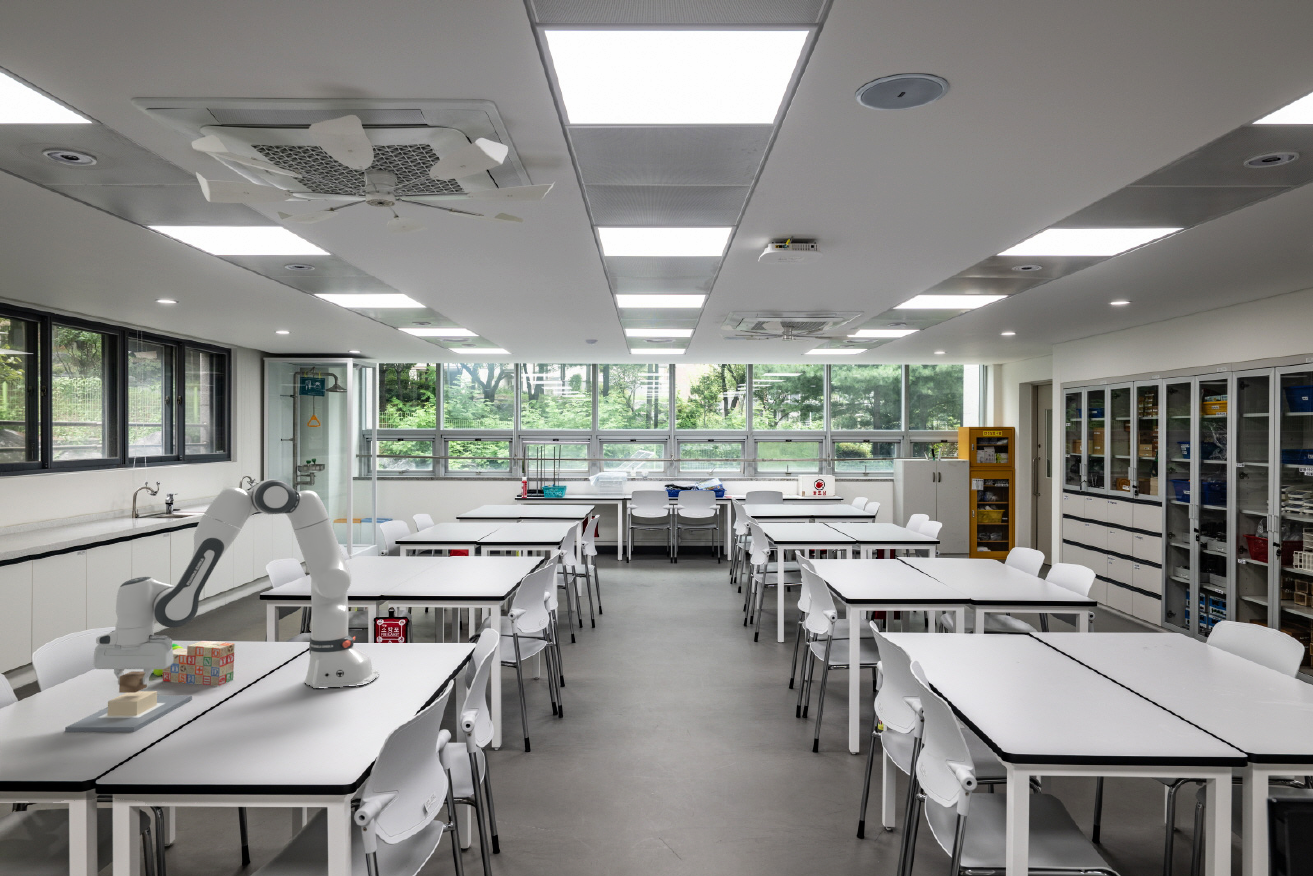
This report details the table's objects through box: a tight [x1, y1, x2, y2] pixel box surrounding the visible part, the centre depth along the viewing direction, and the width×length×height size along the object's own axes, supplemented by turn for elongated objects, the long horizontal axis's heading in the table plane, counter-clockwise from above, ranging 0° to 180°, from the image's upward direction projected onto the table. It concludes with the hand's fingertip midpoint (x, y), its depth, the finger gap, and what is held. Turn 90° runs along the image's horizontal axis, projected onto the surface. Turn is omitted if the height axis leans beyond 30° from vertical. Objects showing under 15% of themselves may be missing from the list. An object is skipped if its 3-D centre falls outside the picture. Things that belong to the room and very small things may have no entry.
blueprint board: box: [64, 690, 193, 733], centre depth 195 cm, size 18×24×5 cm
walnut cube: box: [118, 670, 148, 694], centre depth 195 cm, size 4×4×4 cm
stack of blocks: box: [162, 640, 236, 687], centre depth 225 cm, size 21×6×12 cm, turn 80°
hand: (133, 684), depth 195 cm, fingers closed on walnut cube, 4 cm apart
